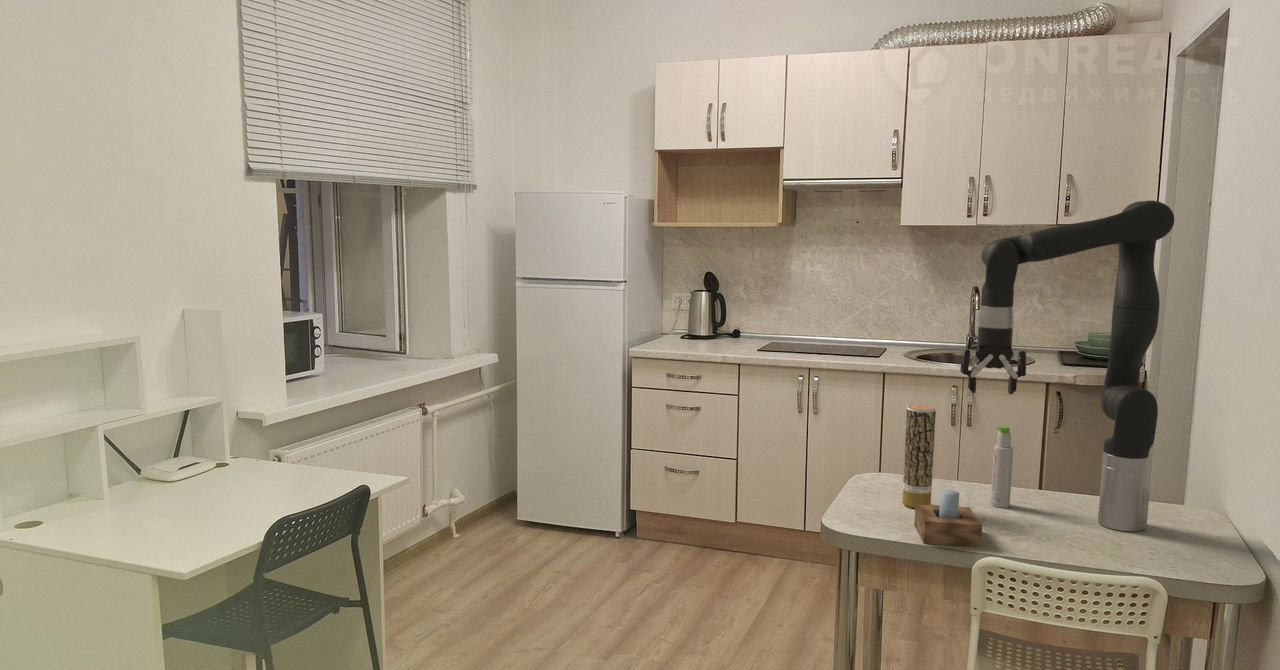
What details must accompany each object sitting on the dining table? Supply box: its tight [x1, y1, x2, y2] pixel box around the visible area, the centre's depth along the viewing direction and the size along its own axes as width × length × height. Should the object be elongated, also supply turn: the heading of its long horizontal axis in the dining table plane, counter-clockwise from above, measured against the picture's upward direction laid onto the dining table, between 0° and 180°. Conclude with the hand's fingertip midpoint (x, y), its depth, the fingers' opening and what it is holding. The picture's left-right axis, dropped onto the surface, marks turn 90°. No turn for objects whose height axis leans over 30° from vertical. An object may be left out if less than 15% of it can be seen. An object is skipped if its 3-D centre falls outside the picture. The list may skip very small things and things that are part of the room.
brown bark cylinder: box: [902, 404, 937, 509], centre depth 213 cm, size 7×7×25 cm
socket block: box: [913, 504, 983, 548], centre depth 193 cm, size 12×12×5 cm
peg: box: [939, 489, 960, 519], centre depth 193 cm, size 4×4×10 cm
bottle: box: [990, 425, 1014, 509], centre depth 214 cm, size 4×4×20 cm
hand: (991, 393), depth 204 cm, fingers open, 8 cm apart
